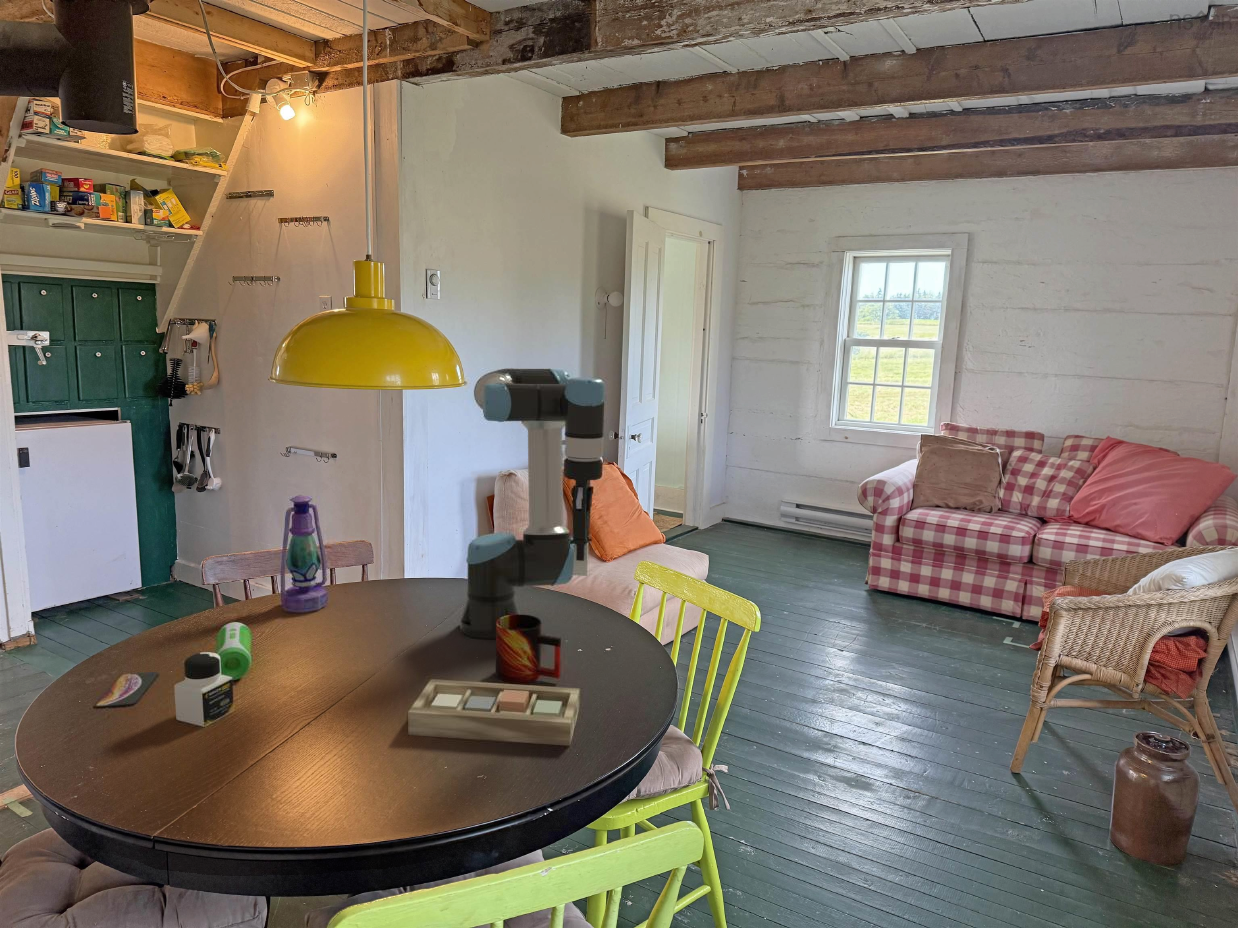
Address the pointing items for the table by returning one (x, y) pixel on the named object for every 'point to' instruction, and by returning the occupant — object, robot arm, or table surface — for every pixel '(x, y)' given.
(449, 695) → the key ivory
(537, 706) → the key sage
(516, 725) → the wooden compartment tray
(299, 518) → the lantern
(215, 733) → the table surface
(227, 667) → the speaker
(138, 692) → the smartphone
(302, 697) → the table surface
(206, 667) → the medicine bottle
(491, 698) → the key slate
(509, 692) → the key terracotta
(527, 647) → the mug
